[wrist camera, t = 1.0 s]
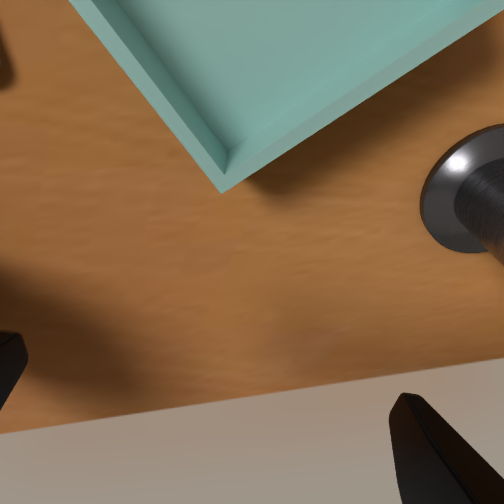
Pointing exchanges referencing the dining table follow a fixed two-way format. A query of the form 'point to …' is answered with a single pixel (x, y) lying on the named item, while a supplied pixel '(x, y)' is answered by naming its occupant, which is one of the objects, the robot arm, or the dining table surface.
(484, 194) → the strut
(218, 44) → the bin
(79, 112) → the dining table surface
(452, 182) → the dark metal disc
